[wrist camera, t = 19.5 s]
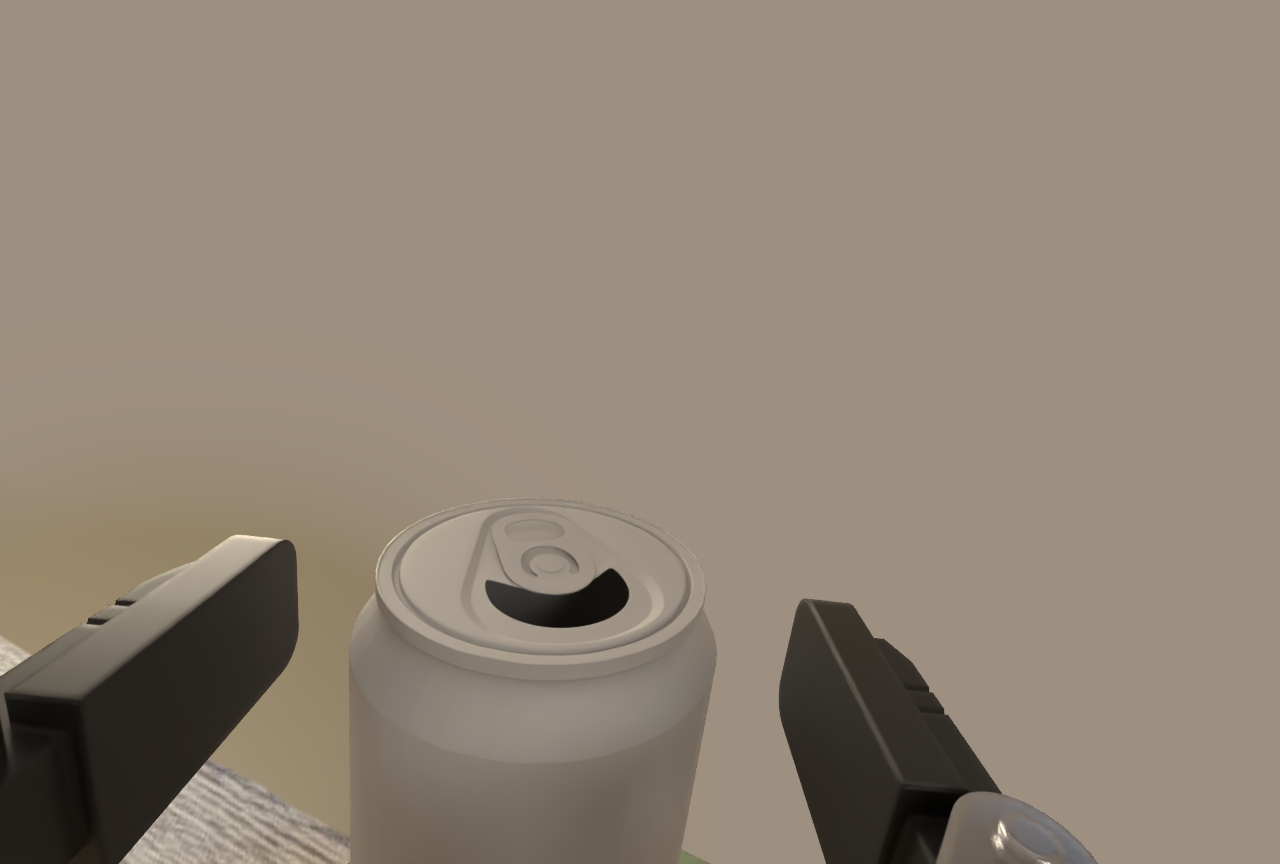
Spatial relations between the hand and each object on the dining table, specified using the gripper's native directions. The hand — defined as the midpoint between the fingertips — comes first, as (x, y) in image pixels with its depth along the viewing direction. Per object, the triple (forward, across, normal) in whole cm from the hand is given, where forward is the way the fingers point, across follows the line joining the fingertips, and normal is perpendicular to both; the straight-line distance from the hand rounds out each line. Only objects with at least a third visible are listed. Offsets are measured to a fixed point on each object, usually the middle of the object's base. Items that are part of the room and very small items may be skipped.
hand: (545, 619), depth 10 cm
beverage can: (+1, 0, +12) cm, 12 cm away
